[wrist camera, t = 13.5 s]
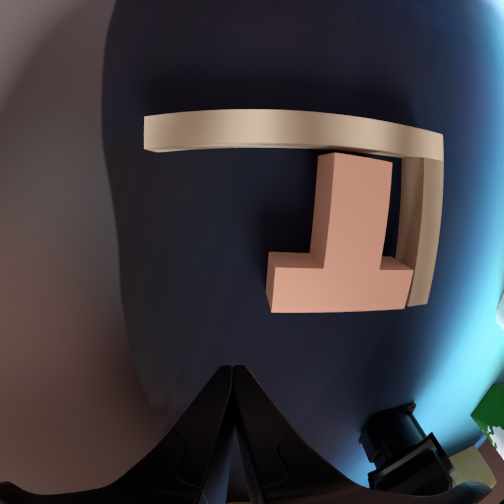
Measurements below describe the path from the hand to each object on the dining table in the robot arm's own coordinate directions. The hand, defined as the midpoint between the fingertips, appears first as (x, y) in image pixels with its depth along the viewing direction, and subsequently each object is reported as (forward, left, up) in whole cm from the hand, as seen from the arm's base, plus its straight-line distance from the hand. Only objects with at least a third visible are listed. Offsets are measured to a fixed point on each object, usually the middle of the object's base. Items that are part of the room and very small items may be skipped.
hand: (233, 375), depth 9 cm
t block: (-8, -3, -12) cm, 14 cm away
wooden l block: (-5, -3, -12) cm, 13 cm away
